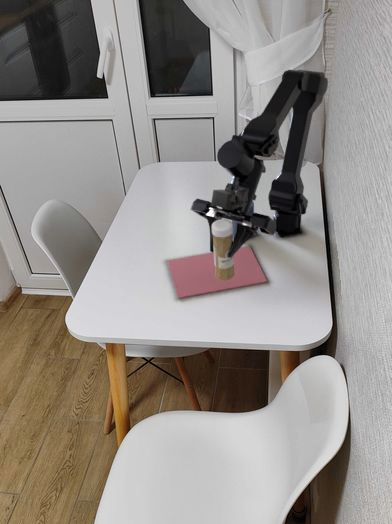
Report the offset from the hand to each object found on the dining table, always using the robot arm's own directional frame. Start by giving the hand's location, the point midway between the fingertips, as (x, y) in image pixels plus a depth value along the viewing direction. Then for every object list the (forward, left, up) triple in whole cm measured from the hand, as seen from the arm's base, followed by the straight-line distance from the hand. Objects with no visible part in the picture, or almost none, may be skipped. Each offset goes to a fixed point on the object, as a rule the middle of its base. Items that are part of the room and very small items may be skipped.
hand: (220, 254), depth 117 cm
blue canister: (-12, -27, -13) cm, 32 cm away
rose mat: (-1, -12, -13) cm, 18 cm away
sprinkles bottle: (-1, -1, -7) cm, 7 cm away
